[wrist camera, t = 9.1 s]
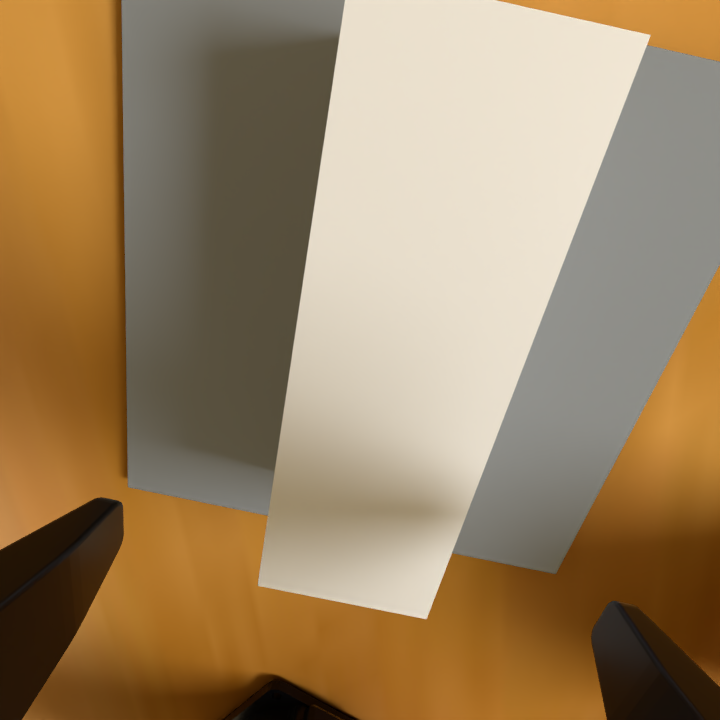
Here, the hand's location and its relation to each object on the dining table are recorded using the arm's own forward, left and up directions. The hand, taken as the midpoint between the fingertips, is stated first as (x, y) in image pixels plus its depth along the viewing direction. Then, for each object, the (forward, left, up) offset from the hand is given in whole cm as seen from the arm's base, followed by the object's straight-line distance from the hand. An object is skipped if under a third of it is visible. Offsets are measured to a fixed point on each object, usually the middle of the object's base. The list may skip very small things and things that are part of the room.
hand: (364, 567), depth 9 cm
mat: (+2, +1, -7) cm, 7 cm away
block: (-3, -2, -4) cm, 6 cm away
